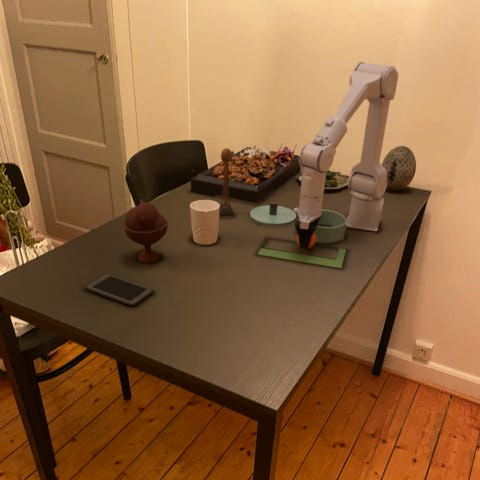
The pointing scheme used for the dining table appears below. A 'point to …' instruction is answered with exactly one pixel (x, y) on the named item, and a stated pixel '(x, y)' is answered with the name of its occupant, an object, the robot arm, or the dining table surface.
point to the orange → (310, 241)
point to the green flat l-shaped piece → (305, 257)
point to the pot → (330, 232)
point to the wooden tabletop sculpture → (226, 183)
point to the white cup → (205, 221)
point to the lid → (273, 214)
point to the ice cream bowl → (145, 229)
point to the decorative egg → (399, 167)
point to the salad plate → (331, 181)
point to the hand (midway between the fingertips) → (305, 243)
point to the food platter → (249, 174)
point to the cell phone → (119, 289)
